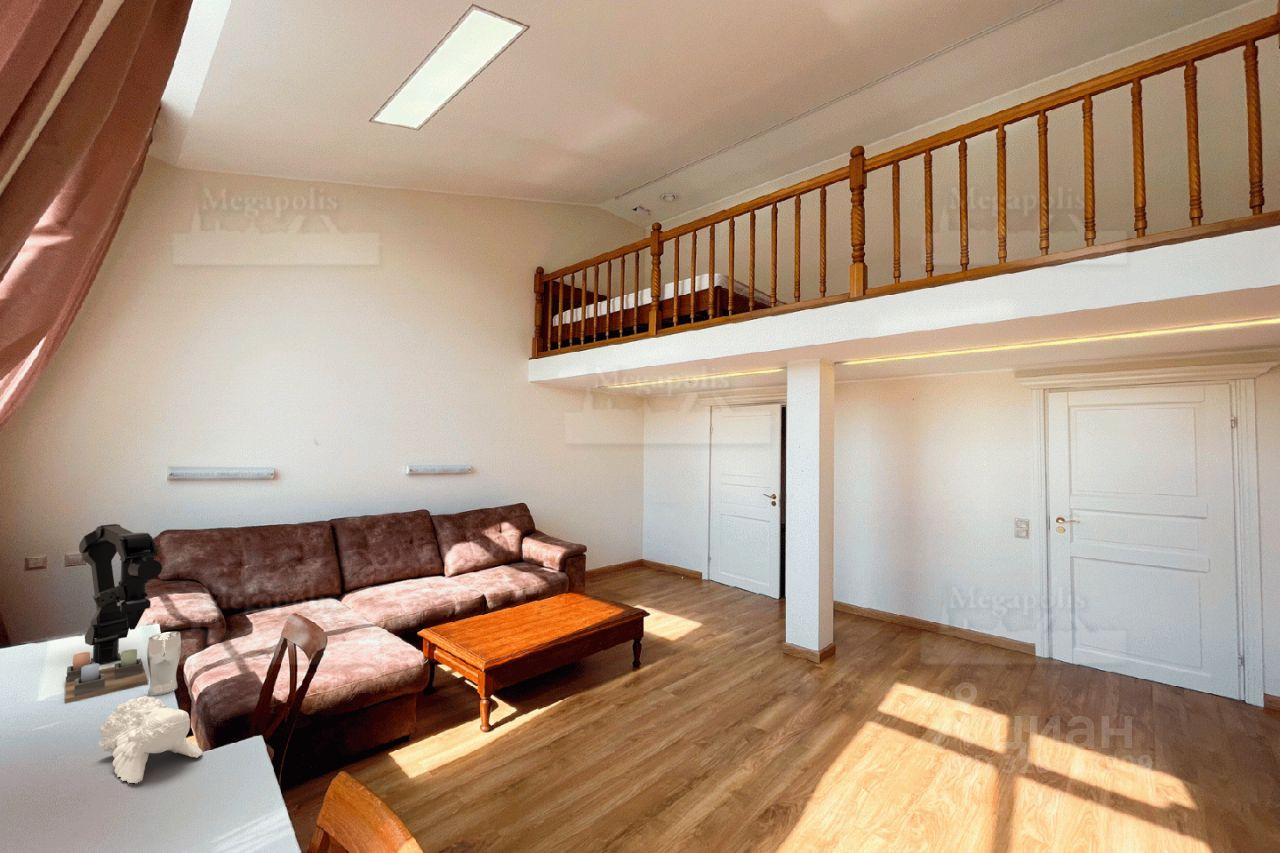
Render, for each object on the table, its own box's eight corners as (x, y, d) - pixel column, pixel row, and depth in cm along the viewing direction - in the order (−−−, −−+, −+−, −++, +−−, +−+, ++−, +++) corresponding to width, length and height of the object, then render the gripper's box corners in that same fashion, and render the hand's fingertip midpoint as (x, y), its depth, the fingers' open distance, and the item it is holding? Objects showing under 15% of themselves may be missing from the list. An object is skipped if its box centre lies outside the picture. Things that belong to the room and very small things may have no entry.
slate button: (80, 682, 147) (81, 665, 147) (98, 678, 149) (99, 662, 149) (80, 686, 144) (81, 669, 145) (98, 682, 147) (99, 665, 147)
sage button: (120, 667, 157) (120, 651, 157) (136, 663, 159) (136, 648, 160) (120, 670, 155) (121, 654, 155) (137, 667, 157) (137, 651, 157)
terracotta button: (72, 670, 155) (73, 654, 155) (89, 666, 157) (90, 651, 157) (72, 673, 152) (73, 657, 152) (89, 670, 155) (90, 654, 155)
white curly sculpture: (175, 686, 129) (212, 698, 118) (173, 742, 127) (211, 758, 117) (99, 707, 117) (133, 722, 107) (96, 768, 116) (131, 789, 106)
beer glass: (163, 697, 145) (165, 640, 146) (138, 696, 145) (140, 639, 146) (186, 685, 152) (188, 631, 153) (161, 685, 152) (163, 631, 153)
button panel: (65, 681, 154) (66, 666, 155) (141, 664, 166) (142, 651, 166) (64, 703, 141) (65, 687, 142) (147, 684, 153) (148, 669, 153)
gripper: (94, 576, 163) (92, 629, 162) (97, 586, 150) (95, 644, 149) (144, 570, 171) (142, 620, 170) (151, 579, 158) (149, 633, 158)
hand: (132, 629), depth 162 cm, fingers closed
